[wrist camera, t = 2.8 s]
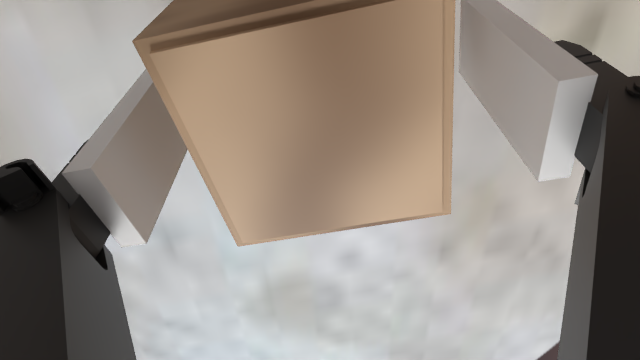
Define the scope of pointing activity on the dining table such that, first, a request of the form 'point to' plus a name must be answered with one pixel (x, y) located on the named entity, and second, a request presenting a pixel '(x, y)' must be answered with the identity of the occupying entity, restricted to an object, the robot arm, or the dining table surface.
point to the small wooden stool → (310, 108)
